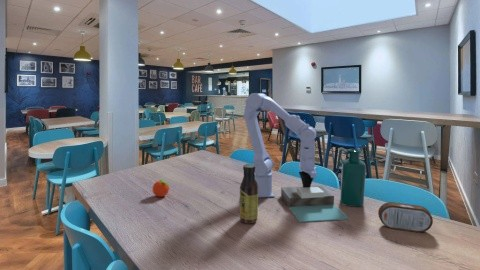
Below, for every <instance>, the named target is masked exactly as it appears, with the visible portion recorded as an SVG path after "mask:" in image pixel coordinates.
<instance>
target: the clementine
mask: <svg viewBox="0 0 480 270" xmlns="http://www.w3.org/2000/svg"><path fill="white" fill-rule="evenodd" d="M169 191H170V185H169V183H168V182H167V181H165V180H161V179H160V180H158V181H156V182H155V183H154V184H153V186H152V192H153V194H154V195H155V196H156V197H165V196H166V195H168V194H169Z"/></svg>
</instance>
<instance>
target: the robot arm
mask: <svg viewBox="0 0 480 270" xmlns="http://www.w3.org/2000/svg"><path fill="white" fill-rule="evenodd" d="M262 110H269V111H271V112H272V113H273V114H275V116H278V117H279V118H280V119H281V120H283V121H284V124H285V126H286V128H288V129H289V130H290V131H291V132H292V133H294V134H296V135H297V136H299V137H298V138H299V140H300V149H299V151H300V156H299V163H298V168H299V172H298V174H299V177H300V179H301V183H302V187H303V188H307V187H310V186H312V182H313V180H314V178H315V179H317V172H316V171H317V170H318V167H316V164H315V163H316V160H315V159H316V137H317V131H316V129H315V128H314V127H313V126H310V124H309V123H306V122H305V121H303V120H302V119H301V116H299V115H296V114H290V113H288V112H287V110H285V109H284V108H283V107H281V106H280V105H279V104H278V103H277V102H276V101H275V100H273V98H271V97H270V96H267V94H265V93H261V92H260V93H258V92H254V93H253V92H252V93H251V94H249V95H248V96H247V97H246V99H245V107H244V112H243V119H244V122H245V124H246V128H247V132H248V136H249V140H250V143H251V148H252V151H253V160H252V161H253V165H255V178H254V179H255V180H256V182H257V184H258V198H272V197H273V198H274V197H275V195H274V193H273V173H272V170H273V168H274V165H275V164H274V161H273V160H272V158H271V157H270V153H268V152H267V150H266V146H265V142H264V139H263V135H262V131H261V127H260V123H259V120H258V115H259V114H260V112H261V111H262Z"/></svg>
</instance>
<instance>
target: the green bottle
mask: <svg viewBox="0 0 480 270" xmlns="http://www.w3.org/2000/svg"><path fill="white" fill-rule="evenodd" d="M342 152H344V154H349V155H348V157H349V158H348V159H347V158H346V159H343V157H342ZM362 152H363V151H362V149H358V148H349V149H348V148H347V149H346V148H344V147H341V146H340V147H339V158H340V162H341V178H340V181H341V182H340V198H339V199H340V201H339V202H340V204H342V205H344V206H350V207H358V208H359V207H360V208H361V207H363V206H364V205H365V204H364V203H365V190H366V176H367V175H366V174H367V166H366V163H365V162H364V161H363V160H361V159H360V153H362Z"/></svg>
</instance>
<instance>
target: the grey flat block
mask: <svg viewBox="0 0 480 270" xmlns="http://www.w3.org/2000/svg"><path fill="white" fill-rule="evenodd" d="M310 187H319V188H320V189H321V190H322V191H323V192H324V197H317V198H301V197H300V196H299V195H298V194H297V193H296V192H297V188H303V186H287V187H286V186H285V187H284V186H282V187H281V190H280V197H281V198H282V200H283V201H284V203H285V204H286V205H287V207H288V208H289V207H298V206H317V205H335V195H334V194H333V193H331V192H330V191H329V190H327V188H325V187H324V186H323V185H311V186H310Z"/></svg>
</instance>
